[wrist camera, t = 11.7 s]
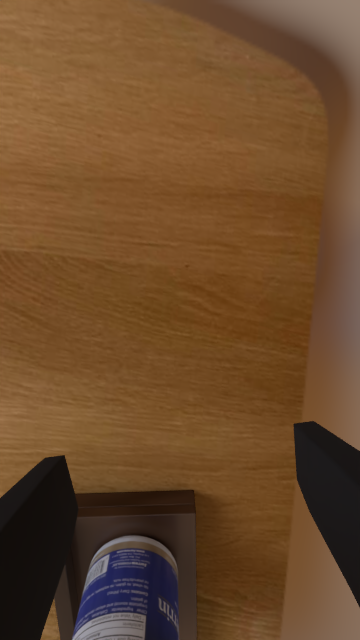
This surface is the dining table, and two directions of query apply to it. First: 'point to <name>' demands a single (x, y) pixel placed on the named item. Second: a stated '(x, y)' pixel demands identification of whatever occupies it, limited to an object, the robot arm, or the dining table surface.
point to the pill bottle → (130, 593)
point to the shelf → (125, 520)
